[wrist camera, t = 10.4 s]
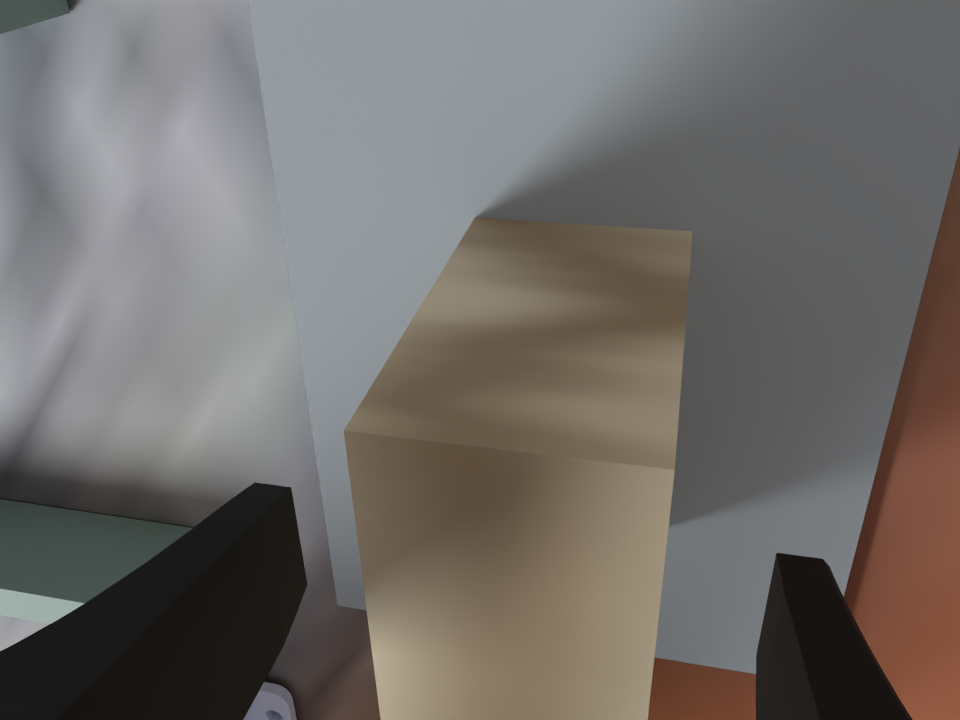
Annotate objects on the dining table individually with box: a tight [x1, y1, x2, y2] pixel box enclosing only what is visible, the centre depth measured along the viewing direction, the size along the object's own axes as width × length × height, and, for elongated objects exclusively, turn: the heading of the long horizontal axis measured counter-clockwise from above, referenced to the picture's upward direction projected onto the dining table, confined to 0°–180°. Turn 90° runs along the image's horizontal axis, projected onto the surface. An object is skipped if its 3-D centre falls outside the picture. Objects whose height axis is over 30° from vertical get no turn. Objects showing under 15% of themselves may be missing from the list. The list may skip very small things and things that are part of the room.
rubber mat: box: [248, 0, 960, 674], centre depth 18 cm, size 16×12×1 cm
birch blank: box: [344, 218, 693, 720], centre depth 15 cm, size 4×7×7 cm, turn 2°
